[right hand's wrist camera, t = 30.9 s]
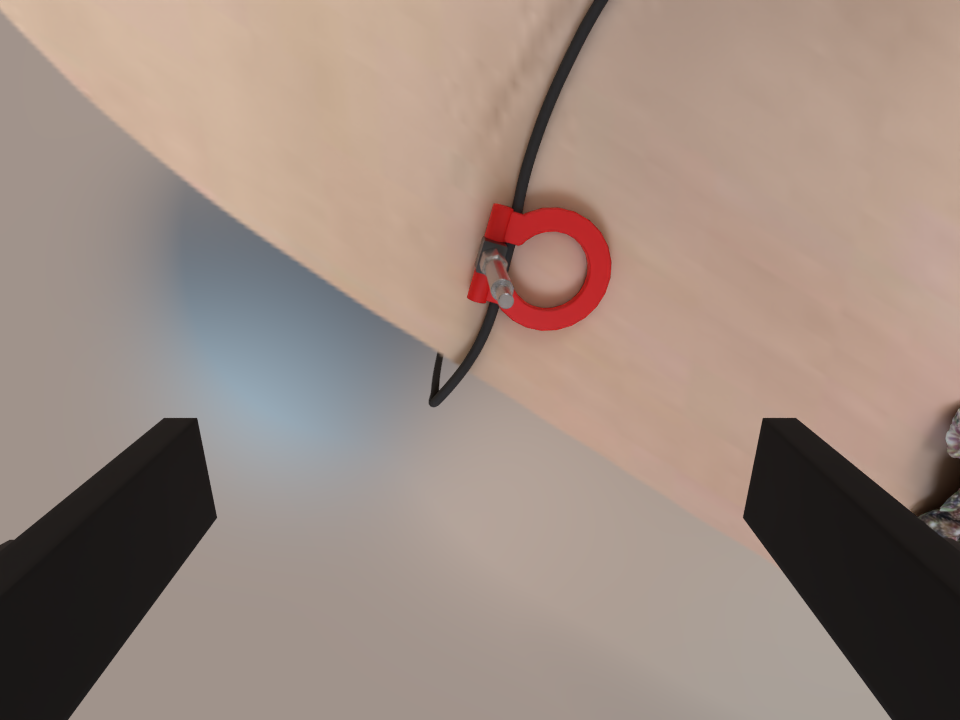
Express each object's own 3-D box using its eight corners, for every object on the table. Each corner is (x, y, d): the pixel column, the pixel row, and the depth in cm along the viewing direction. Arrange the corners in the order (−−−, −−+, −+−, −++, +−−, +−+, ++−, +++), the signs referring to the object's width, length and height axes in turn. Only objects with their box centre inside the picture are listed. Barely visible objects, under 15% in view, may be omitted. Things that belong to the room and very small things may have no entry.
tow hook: (624, 226, 37) (495, 187, 36) (706, 263, 25) (516, 207, 24) (582, 338, 40) (461, 306, 39) (638, 419, 28) (465, 377, 27)
